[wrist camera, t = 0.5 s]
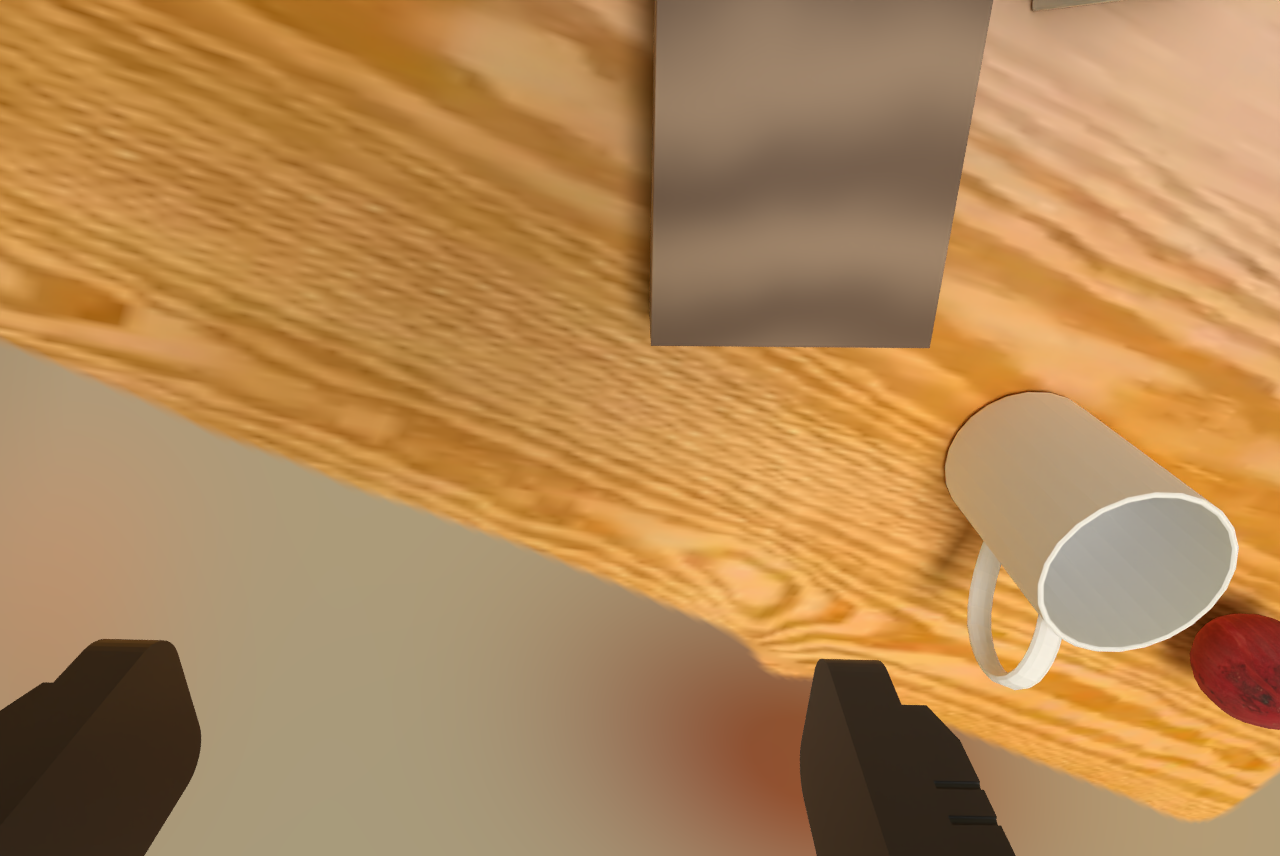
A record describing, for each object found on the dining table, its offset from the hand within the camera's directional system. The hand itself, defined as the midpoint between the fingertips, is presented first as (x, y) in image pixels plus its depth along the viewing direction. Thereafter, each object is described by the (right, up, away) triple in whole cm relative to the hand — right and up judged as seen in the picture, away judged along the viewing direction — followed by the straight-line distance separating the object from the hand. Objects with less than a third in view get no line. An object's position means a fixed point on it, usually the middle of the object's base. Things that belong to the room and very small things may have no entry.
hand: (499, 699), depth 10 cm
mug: (+21, 0, +31) cm, 38 cm away
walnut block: (+8, +16, +24) cm, 30 cm away
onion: (+36, -8, +35) cm, 51 cm away
